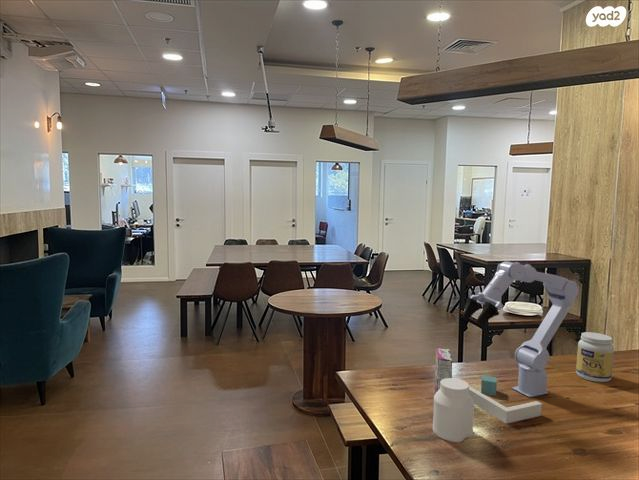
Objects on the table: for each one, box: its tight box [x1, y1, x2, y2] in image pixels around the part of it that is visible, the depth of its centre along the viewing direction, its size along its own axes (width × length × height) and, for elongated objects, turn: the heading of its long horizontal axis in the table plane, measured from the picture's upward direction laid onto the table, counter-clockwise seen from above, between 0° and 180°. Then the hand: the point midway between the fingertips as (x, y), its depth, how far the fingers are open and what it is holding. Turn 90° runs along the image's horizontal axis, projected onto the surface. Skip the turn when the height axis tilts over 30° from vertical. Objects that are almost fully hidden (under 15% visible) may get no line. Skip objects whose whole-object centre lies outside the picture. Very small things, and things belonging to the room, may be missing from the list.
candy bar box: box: [434, 347, 453, 395], centre depth 151 cm, size 11×5×16 cm, turn 168°
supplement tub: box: [575, 331, 615, 383], centre depth 172 cm, size 12×12×17 cm
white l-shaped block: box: [469, 385, 543, 425], centre depth 147 cm, size 15×20×4 cm
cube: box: [480, 375, 498, 397], centre depth 158 cm, size 5×5×5 cm
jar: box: [432, 377, 475, 443], centre depth 129 cm, size 12×10×15 cm
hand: (471, 320), depth 147 cm, fingers open, 7 cm apart
